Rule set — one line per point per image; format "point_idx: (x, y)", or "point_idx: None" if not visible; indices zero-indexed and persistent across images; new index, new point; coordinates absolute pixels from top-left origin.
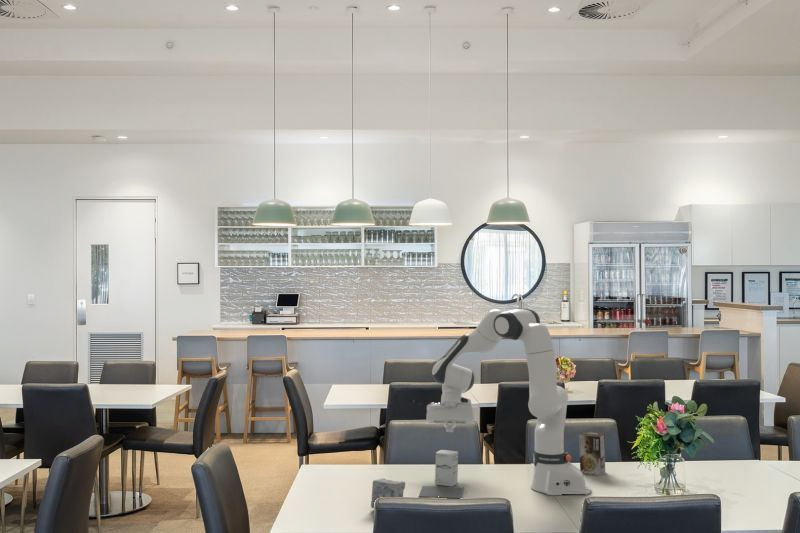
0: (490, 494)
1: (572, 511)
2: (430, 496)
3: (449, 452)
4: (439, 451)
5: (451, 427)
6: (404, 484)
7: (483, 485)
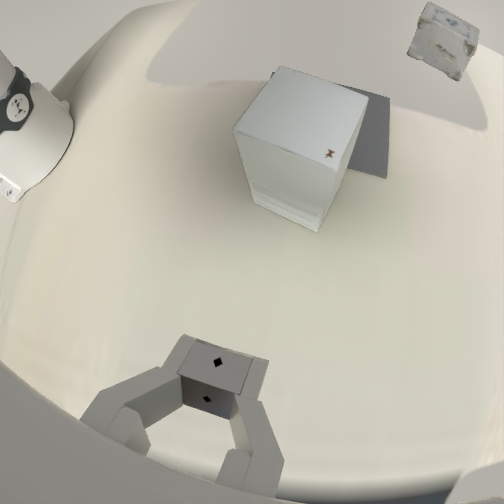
0: (184, 98)
1: (94, 45)
2: (357, 89)
3: (291, 93)
4: (348, 119)
5: (185, 361)
6: (419, 17)
7: (170, 169)
